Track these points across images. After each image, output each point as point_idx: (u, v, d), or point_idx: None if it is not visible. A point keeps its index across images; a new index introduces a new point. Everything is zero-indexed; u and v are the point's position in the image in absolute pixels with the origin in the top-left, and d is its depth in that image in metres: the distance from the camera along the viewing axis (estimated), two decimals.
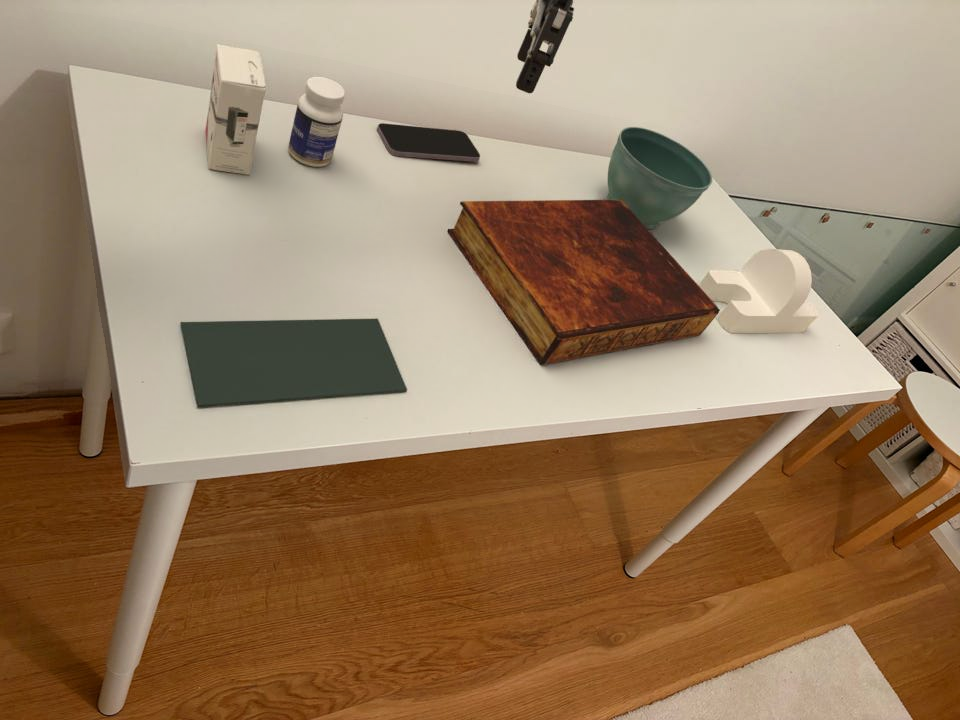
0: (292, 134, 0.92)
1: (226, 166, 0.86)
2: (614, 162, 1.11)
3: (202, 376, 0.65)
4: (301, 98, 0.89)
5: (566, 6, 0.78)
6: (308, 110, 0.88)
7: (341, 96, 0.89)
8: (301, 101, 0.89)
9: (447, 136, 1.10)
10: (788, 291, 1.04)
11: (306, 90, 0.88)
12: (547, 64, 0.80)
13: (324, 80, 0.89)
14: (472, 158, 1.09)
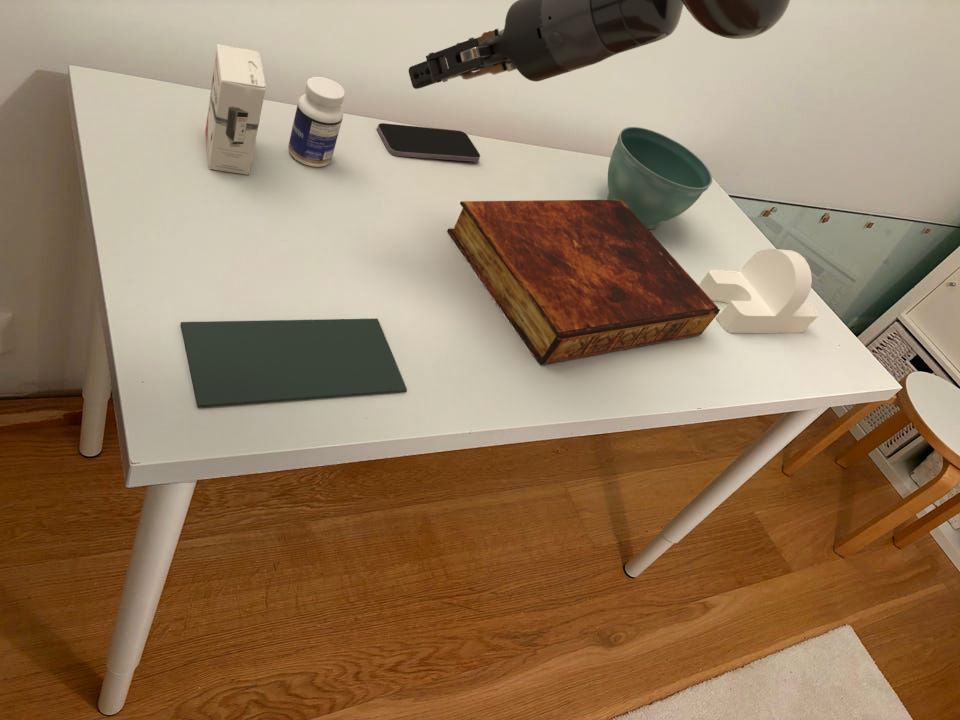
0: (292, 134, 0.92)
1: (226, 166, 0.86)
2: (614, 162, 1.11)
3: (202, 376, 0.65)
4: (301, 98, 0.89)
5: (492, 57, 0.68)
6: (308, 110, 0.88)
7: (341, 96, 0.89)
8: (301, 101, 0.89)
9: (447, 136, 1.10)
10: (788, 291, 1.04)
11: (306, 90, 0.88)
12: (432, 78, 0.70)
13: (324, 80, 0.89)
14: (472, 158, 1.09)
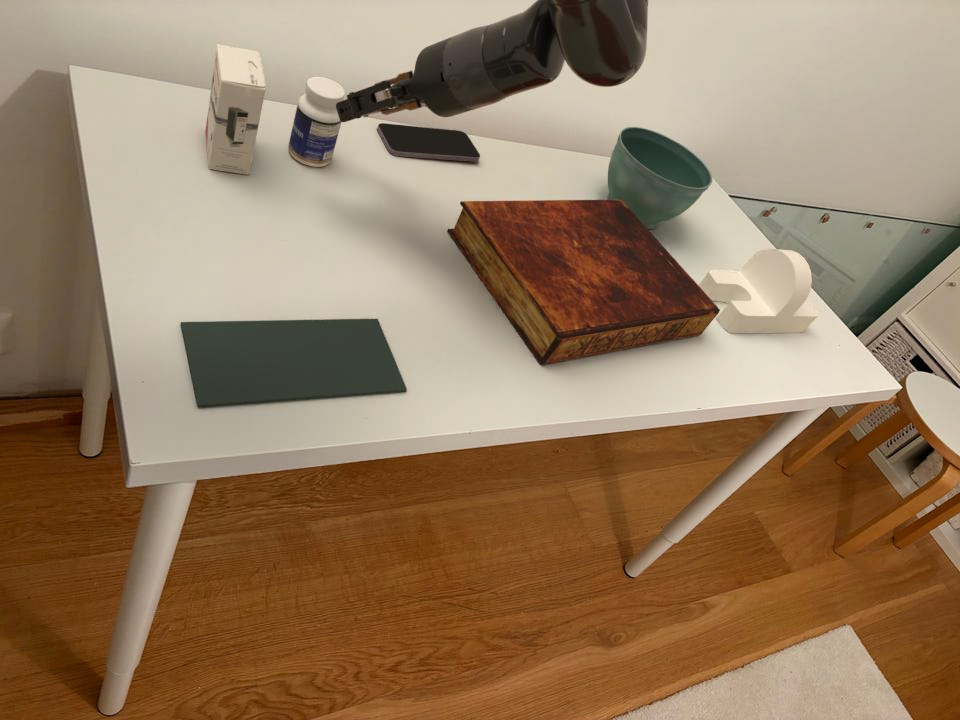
0: (292, 134, 0.92)
1: (226, 166, 0.86)
2: (614, 162, 1.11)
3: (202, 376, 0.65)
4: (301, 98, 0.89)
5: (405, 96, 0.77)
6: (308, 110, 0.88)
7: (341, 96, 0.89)
8: (301, 101, 0.89)
9: (447, 136, 1.10)
10: (788, 291, 1.04)
11: (306, 90, 0.88)
12: (352, 114, 0.78)
13: (324, 80, 0.89)
14: (472, 158, 1.09)
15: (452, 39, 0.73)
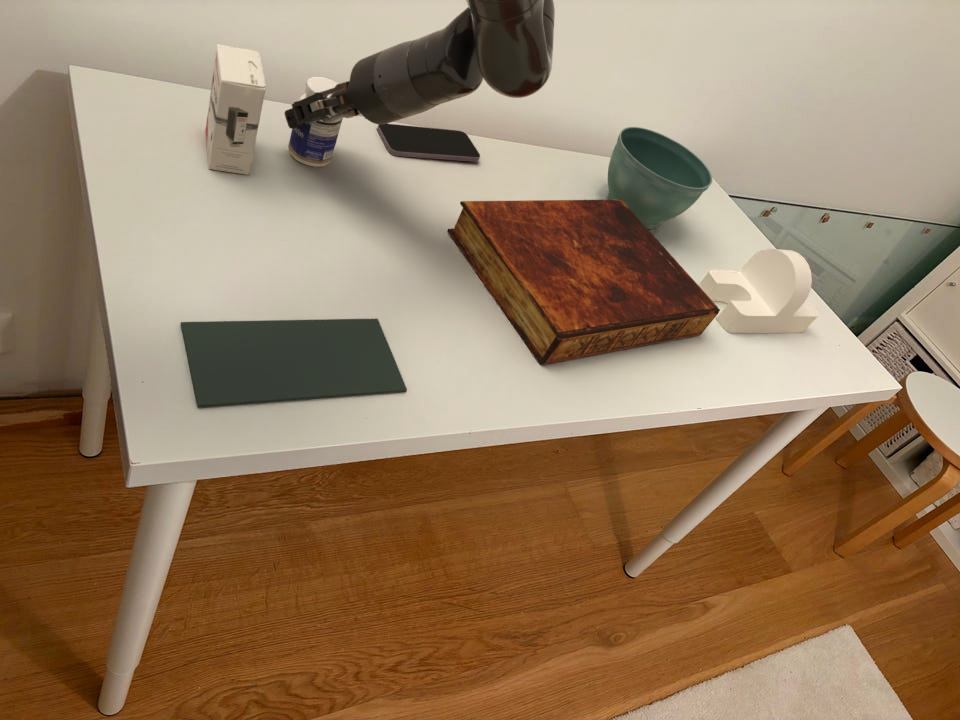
0: (292, 134, 0.92)
1: (226, 166, 0.86)
2: (614, 162, 1.11)
3: (202, 376, 0.65)
4: (301, 98, 0.89)
5: (341, 105, 0.83)
6: None
7: None
8: None
9: (447, 136, 1.10)
10: (788, 291, 1.04)
11: (306, 90, 0.88)
12: (297, 122, 0.86)
13: (324, 80, 0.90)
14: (472, 158, 1.09)
15: (382, 52, 0.79)
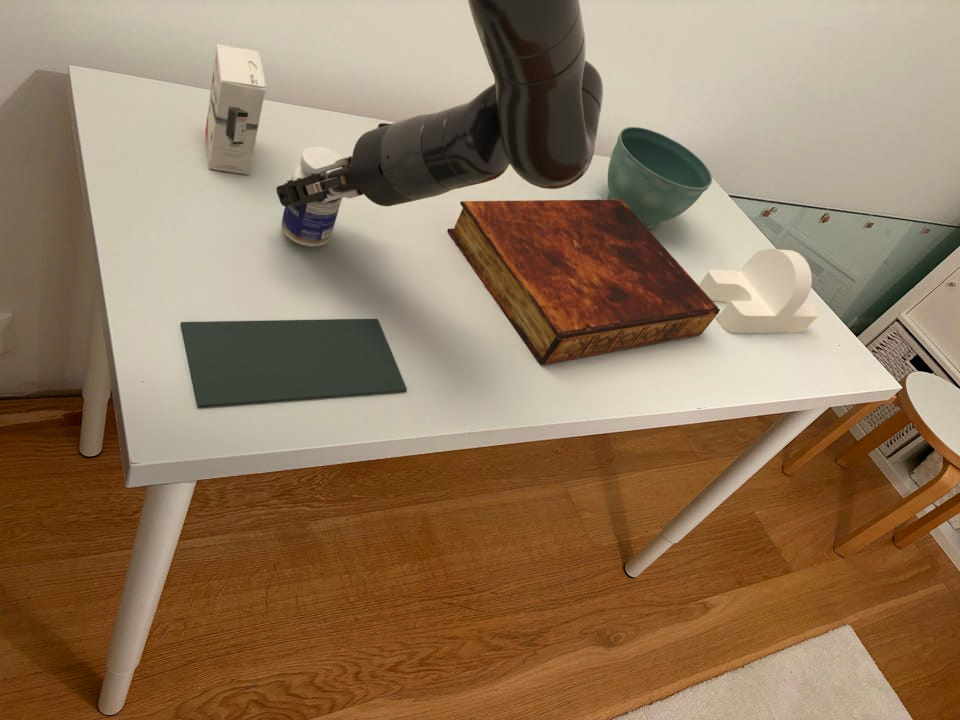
0: (285, 210, 0.80)
1: (226, 166, 0.86)
2: (614, 162, 1.11)
3: (202, 376, 0.65)
4: (296, 171, 0.77)
5: (342, 186, 0.71)
6: None
7: None
8: (295, 175, 0.77)
9: None
10: (788, 291, 1.04)
11: (301, 164, 0.76)
12: (291, 203, 0.73)
13: (322, 150, 0.77)
14: None
15: (391, 128, 0.67)
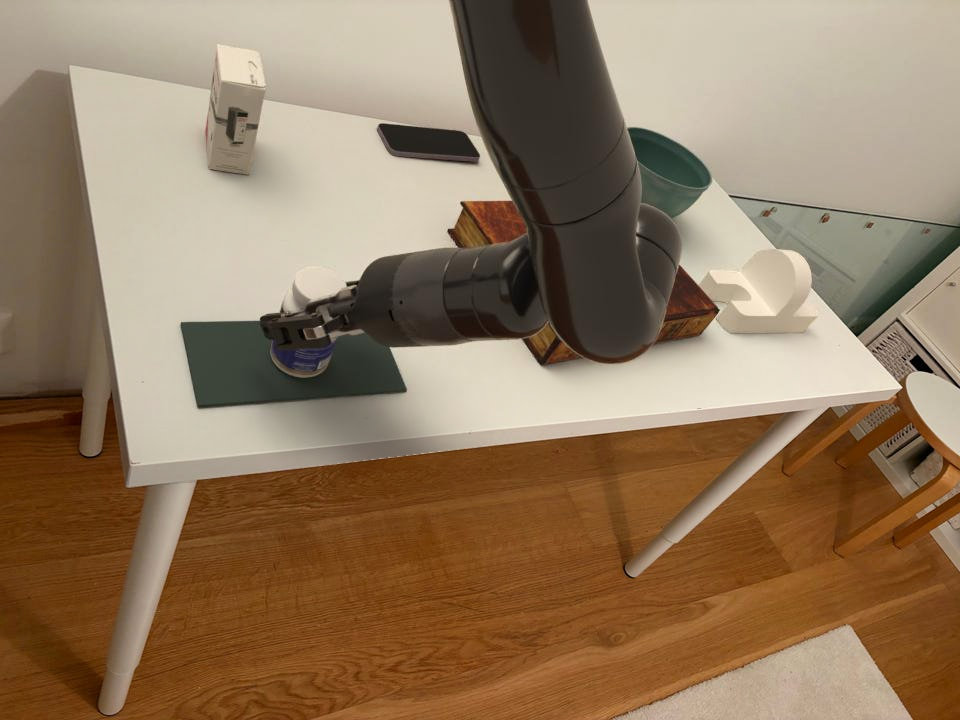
0: None
1: (226, 166, 0.86)
2: None
3: (202, 376, 0.65)
4: (287, 297, 0.64)
5: (344, 327, 0.58)
6: None
7: None
8: (286, 302, 0.64)
9: (447, 136, 1.10)
10: (788, 291, 1.04)
11: (293, 290, 0.63)
12: None
13: (318, 271, 0.65)
14: (472, 158, 1.09)
15: (404, 265, 0.54)
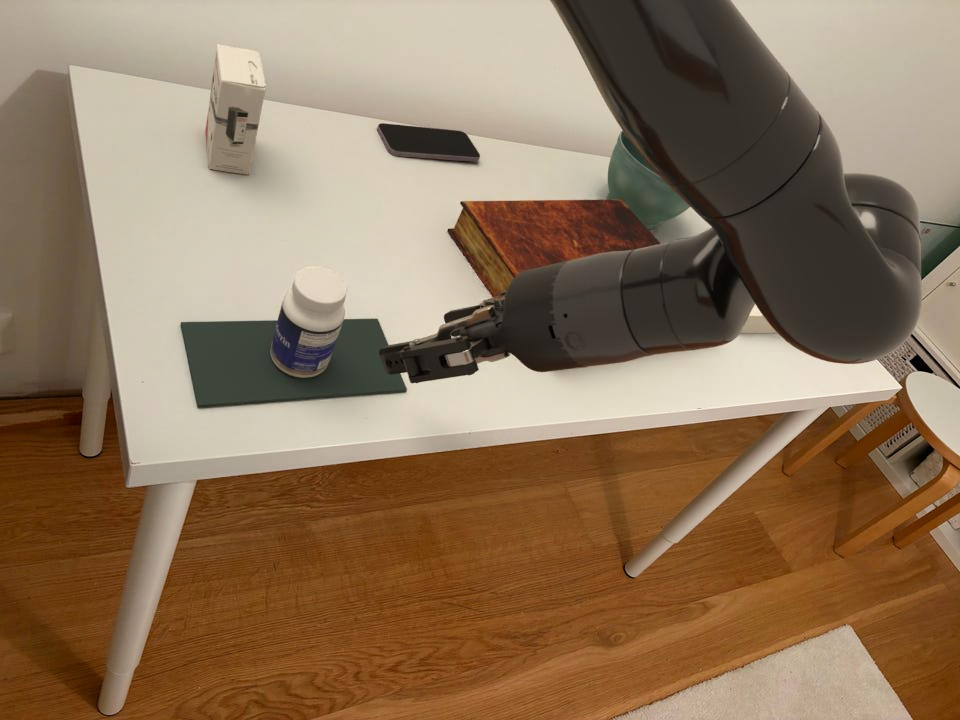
0: (275, 338, 0.67)
1: (226, 166, 0.86)
2: (614, 162, 1.11)
3: (202, 376, 0.65)
4: (287, 297, 0.64)
5: (489, 351, 0.51)
6: (297, 317, 0.63)
7: (342, 296, 0.64)
8: (286, 302, 0.64)
9: (447, 136, 1.10)
10: None
11: (293, 290, 0.63)
12: (409, 378, 0.52)
13: (318, 271, 0.65)
14: (472, 158, 1.09)
15: (564, 273, 0.48)
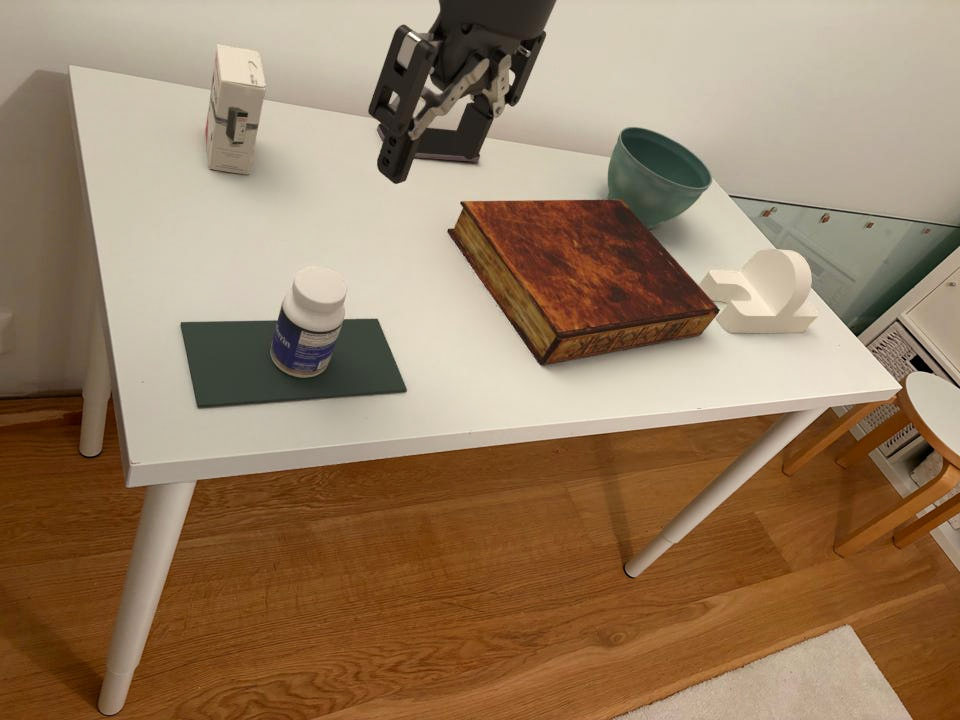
0: (275, 338, 0.67)
1: (226, 166, 0.86)
2: (614, 162, 1.11)
3: (202, 376, 0.65)
4: (287, 297, 0.64)
5: (447, 41, 0.43)
6: (297, 317, 0.63)
7: (342, 296, 0.64)
8: (286, 302, 0.64)
9: (447, 136, 1.10)
10: (788, 291, 1.04)
11: (293, 290, 0.63)
12: (391, 130, 0.45)
13: (318, 271, 0.65)
14: None
15: None
